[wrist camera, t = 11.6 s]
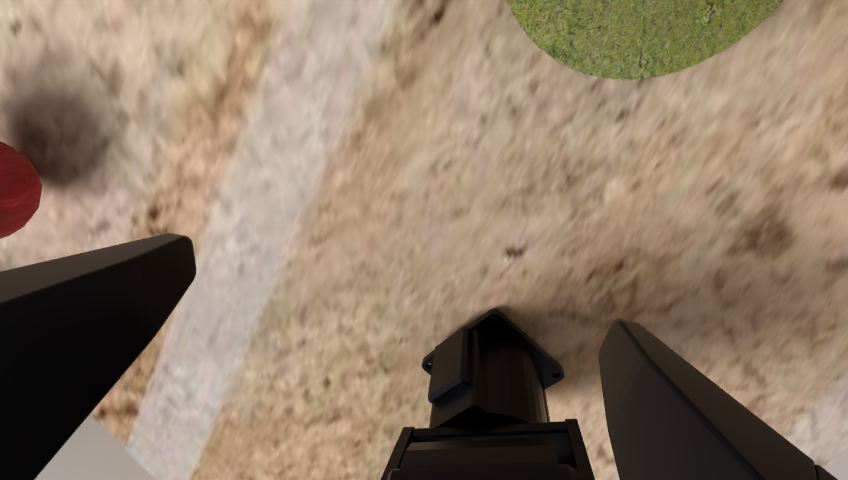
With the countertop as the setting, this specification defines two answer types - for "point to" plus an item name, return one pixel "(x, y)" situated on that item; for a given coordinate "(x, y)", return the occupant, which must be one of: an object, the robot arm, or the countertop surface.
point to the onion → (17, 190)
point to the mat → (637, 32)
